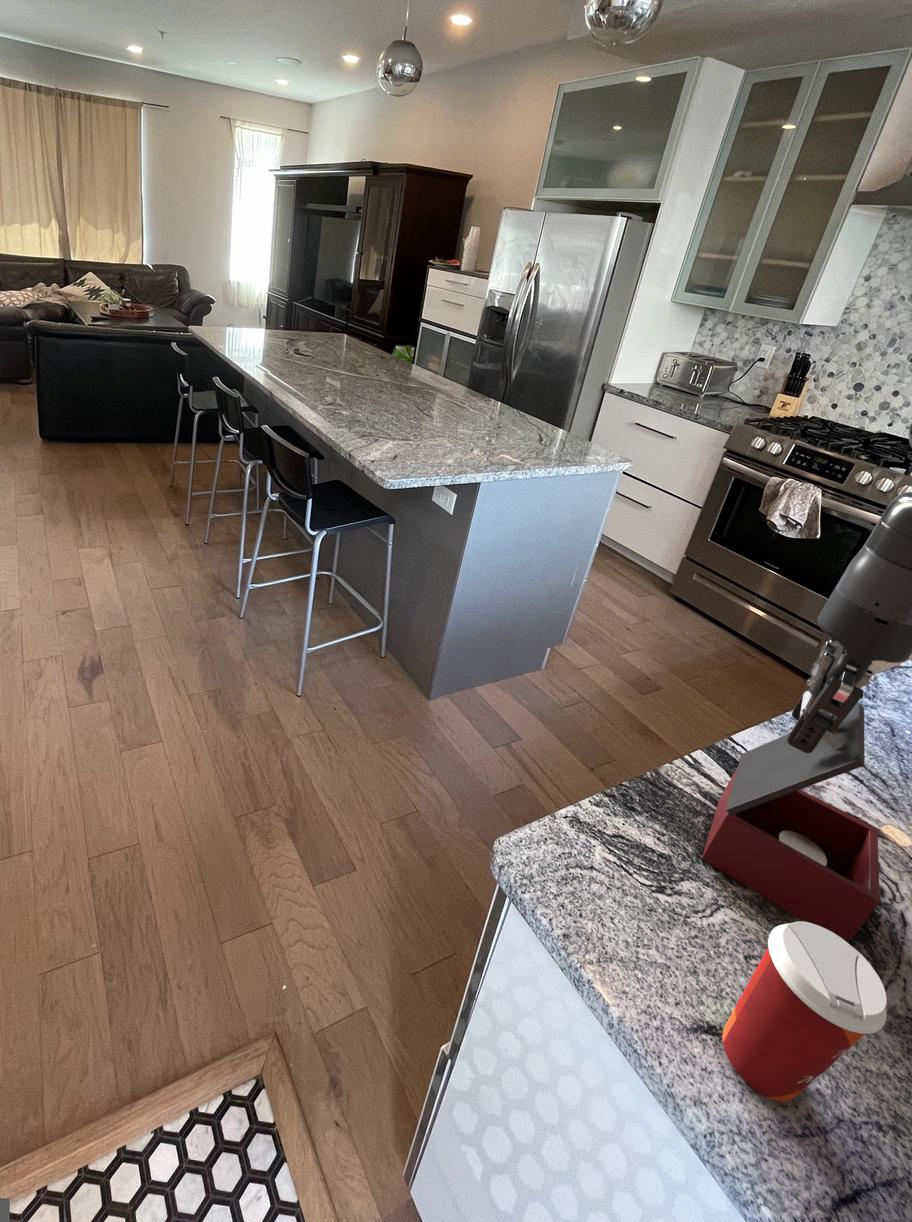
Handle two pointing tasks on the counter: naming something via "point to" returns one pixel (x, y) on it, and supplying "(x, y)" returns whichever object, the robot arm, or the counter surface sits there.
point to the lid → (797, 763)
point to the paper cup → (802, 1010)
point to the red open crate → (800, 859)
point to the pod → (803, 846)
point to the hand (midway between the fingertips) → (800, 732)
